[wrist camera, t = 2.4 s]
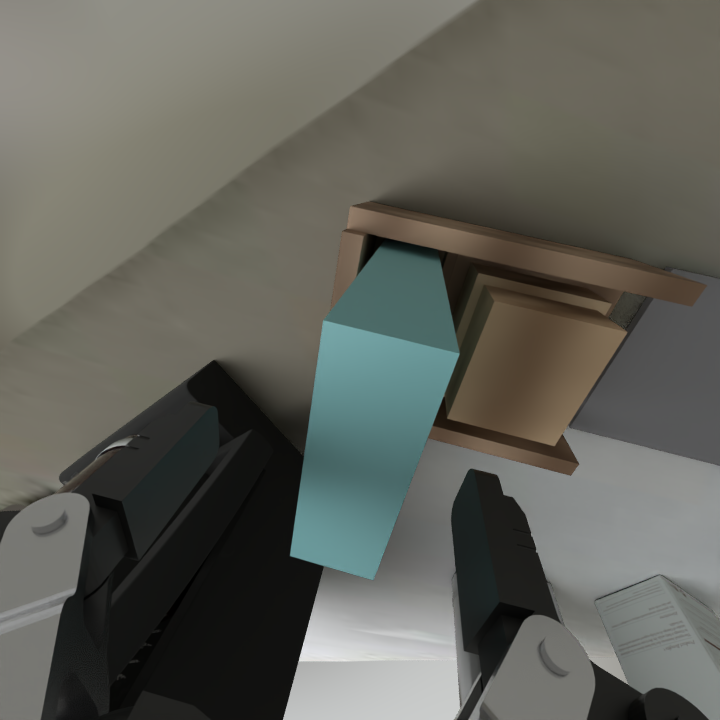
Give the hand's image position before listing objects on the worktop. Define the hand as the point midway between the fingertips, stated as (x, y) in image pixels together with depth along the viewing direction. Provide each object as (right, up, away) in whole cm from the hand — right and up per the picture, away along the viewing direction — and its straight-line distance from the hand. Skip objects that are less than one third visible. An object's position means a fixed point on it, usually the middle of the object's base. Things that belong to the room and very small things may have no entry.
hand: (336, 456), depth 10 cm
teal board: (+3, +7, +12) cm, 14 cm away
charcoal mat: (+24, +2, +11) cm, 27 cm away
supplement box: (+30, -21, +23) cm, 43 cm away
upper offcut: (+10, +3, +9) cm, 14 cm away
